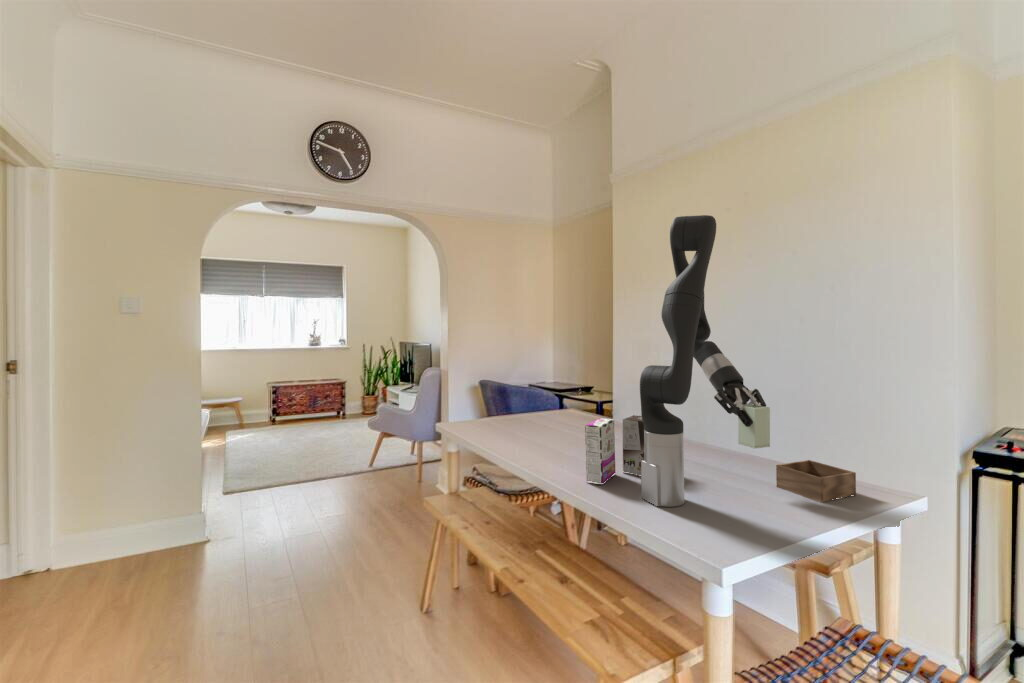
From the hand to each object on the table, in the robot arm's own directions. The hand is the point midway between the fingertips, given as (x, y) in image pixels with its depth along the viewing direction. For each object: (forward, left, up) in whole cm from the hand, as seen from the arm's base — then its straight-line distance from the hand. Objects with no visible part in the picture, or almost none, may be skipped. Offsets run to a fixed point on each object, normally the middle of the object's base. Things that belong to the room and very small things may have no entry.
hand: (758, 424), depth 111 cm
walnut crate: (+15, -4, -18) cm, 23 cm away
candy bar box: (-31, +25, -18) cm, 44 cm away
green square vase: (0, +1, -6) cm, 6 cm away
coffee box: (-17, +27, -18) cm, 37 cm away
